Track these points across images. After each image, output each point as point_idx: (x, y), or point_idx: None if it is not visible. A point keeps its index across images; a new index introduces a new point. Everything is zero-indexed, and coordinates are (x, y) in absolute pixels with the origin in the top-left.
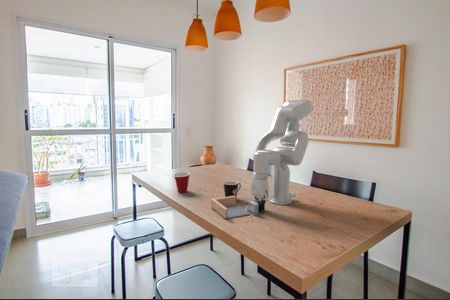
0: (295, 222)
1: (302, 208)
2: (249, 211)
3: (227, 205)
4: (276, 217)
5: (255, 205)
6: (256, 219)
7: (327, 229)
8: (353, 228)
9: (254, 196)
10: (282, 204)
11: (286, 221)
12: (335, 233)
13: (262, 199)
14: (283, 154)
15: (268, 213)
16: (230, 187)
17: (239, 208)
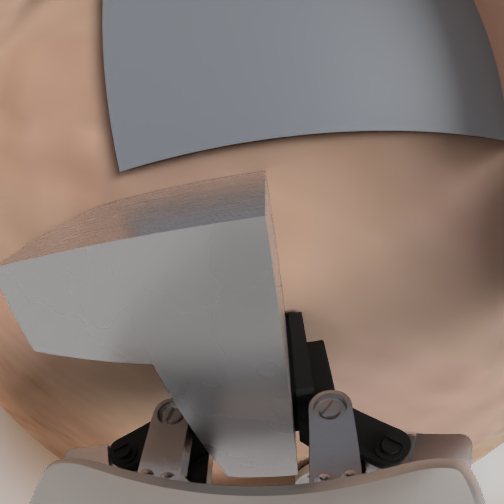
0: (39, 388)
1: (218, 484)
2: (191, 185)
3: (487, 32)
4: (76, 364)
5: (14, 290)
6: (25, 201)
7: (24, 410)
8: (54, 446)
9: (407, 445)
10: (302, 468)
11: (37, 367)
12: (10, 403)
13: (263, 473)
14: None
15: (151, 365)
16: None
17: (377, 89)
